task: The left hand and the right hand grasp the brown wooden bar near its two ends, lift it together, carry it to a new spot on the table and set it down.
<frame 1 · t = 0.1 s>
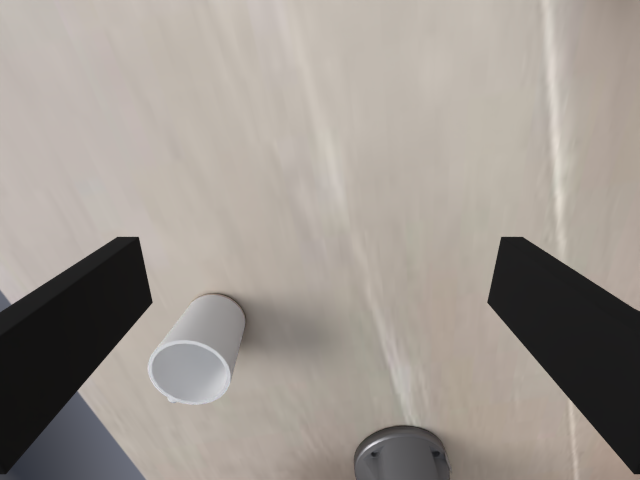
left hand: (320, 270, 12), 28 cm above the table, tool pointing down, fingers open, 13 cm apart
mug: (213, 322, 47), on the table
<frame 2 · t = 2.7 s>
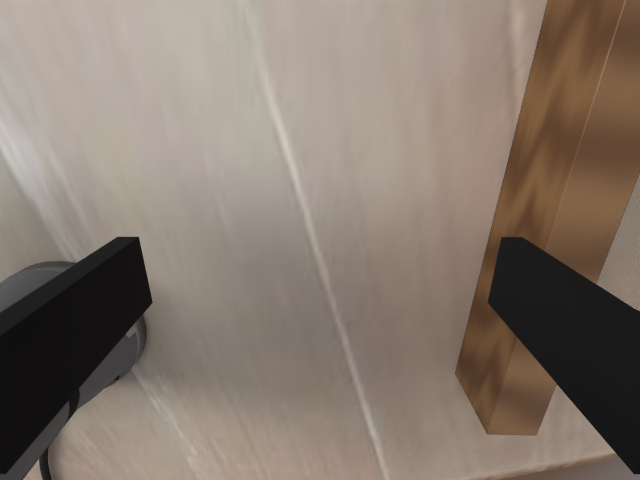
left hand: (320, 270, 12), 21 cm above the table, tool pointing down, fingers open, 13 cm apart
brown wooden bar: (540, 139, 31), on the table, touching right hand
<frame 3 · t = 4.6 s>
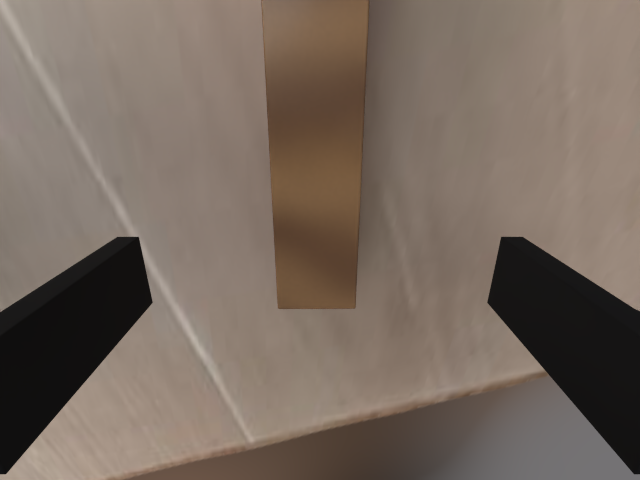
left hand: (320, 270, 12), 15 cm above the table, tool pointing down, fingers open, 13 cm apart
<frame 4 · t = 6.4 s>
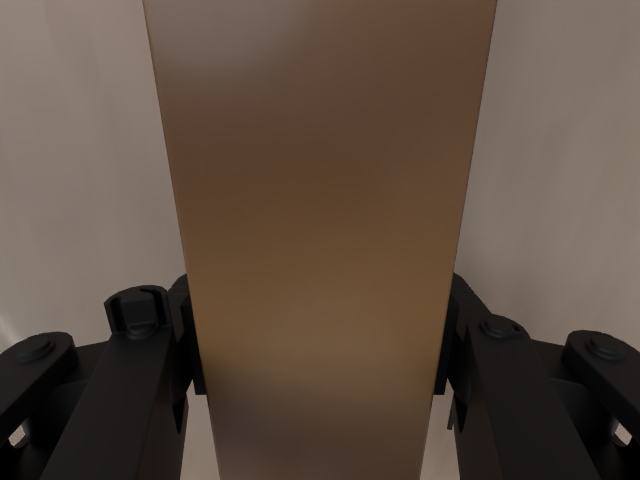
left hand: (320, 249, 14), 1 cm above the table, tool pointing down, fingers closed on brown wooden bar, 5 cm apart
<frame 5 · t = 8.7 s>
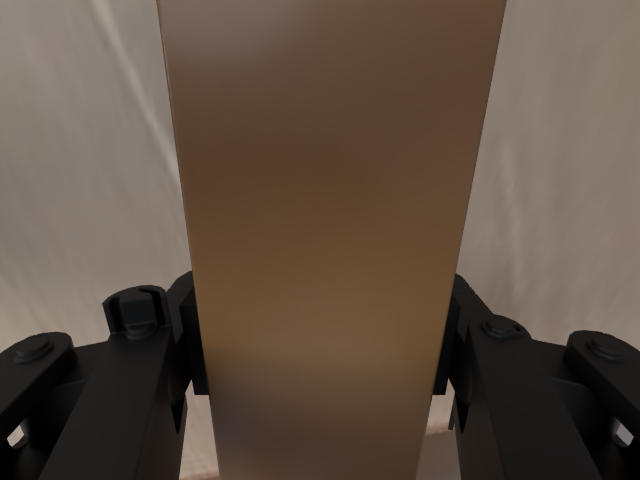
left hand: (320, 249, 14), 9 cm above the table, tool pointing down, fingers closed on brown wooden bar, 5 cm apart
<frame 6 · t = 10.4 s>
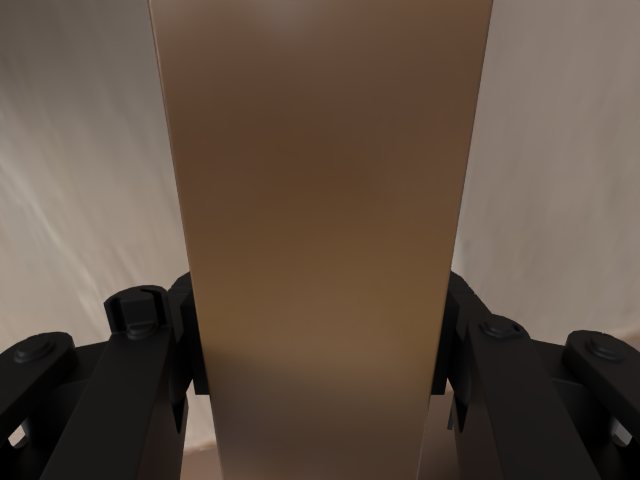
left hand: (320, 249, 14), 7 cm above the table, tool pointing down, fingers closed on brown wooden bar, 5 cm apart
when the left hand's fingers open (2 cm above the table, at t = 11.2 s): brown wooden bar stays where it is, on the table.
when the right hand's fingers open (4 cm above the table, at t = 11.3 s): brown wooden bar stays where it is, on the table.
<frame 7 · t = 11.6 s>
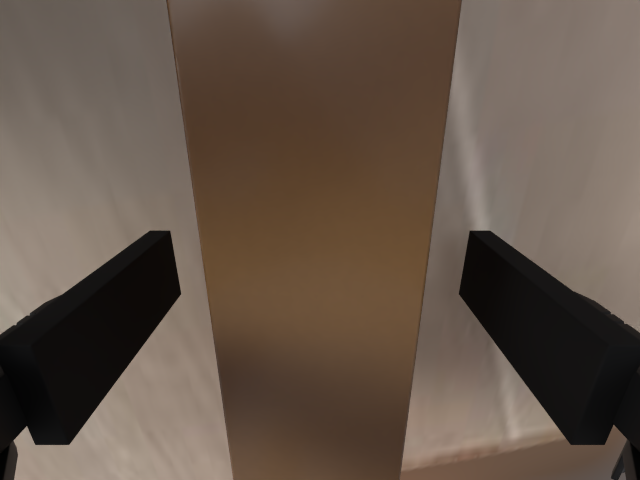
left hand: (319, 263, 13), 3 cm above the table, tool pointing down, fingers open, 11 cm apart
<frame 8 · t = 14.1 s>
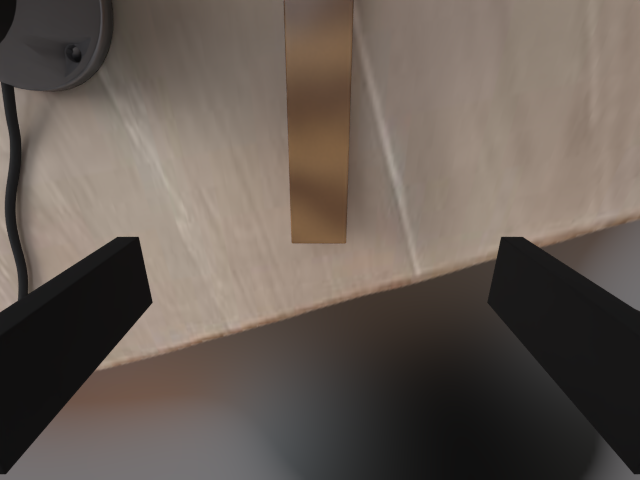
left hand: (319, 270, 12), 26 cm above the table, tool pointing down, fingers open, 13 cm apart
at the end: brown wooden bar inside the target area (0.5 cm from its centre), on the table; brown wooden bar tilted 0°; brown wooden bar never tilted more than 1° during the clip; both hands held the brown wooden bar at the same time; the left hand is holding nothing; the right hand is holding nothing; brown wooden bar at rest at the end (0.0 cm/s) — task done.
